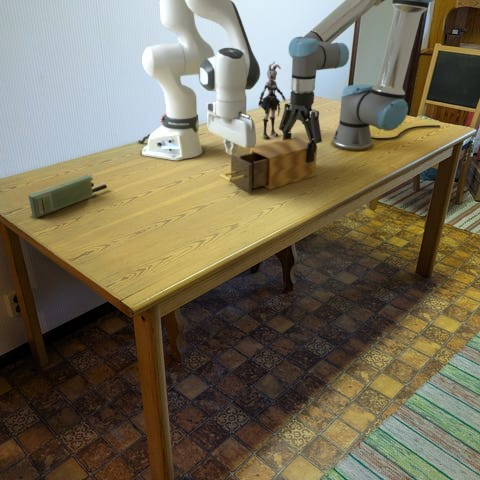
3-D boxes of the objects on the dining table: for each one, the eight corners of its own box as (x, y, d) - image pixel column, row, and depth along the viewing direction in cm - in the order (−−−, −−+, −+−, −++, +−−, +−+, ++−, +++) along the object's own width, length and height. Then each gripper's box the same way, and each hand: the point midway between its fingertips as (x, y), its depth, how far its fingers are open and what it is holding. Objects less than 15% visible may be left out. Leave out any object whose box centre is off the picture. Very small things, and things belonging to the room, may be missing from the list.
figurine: (261, 141, 202) (264, 63, 188) (251, 138, 206) (252, 61, 192) (286, 134, 211) (290, 59, 196) (276, 131, 215) (279, 57, 200)
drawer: (233, 196, 155) (233, 168, 150) (216, 186, 161) (215, 159, 157) (293, 178, 167) (294, 153, 163) (274, 170, 174) (276, 145, 170)
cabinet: (269, 189, 162) (271, 157, 157) (249, 178, 169) (250, 147, 164) (314, 176, 172) (317, 145, 167) (293, 166, 180) (295, 137, 174)
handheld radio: (30, 215, 144) (102, 188, 161) (37, 219, 142) (109, 191, 159) (26, 193, 140) (100, 168, 157) (33, 197, 138) (107, 171, 155)
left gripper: (262, 114, 141) (260, 161, 148) (220, 99, 155) (220, 143, 162) (244, 118, 138) (243, 166, 144) (202, 102, 152) (204, 147, 159)
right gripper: (337, 96, 154) (330, 164, 165) (287, 82, 171) (283, 145, 181) (320, 100, 150) (314, 169, 161) (270, 85, 167) (267, 149, 177)
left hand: (231, 154), depth 153 cm, fingers closed
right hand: (298, 156), depth 171 cm, fingers open, 11 cm apart
